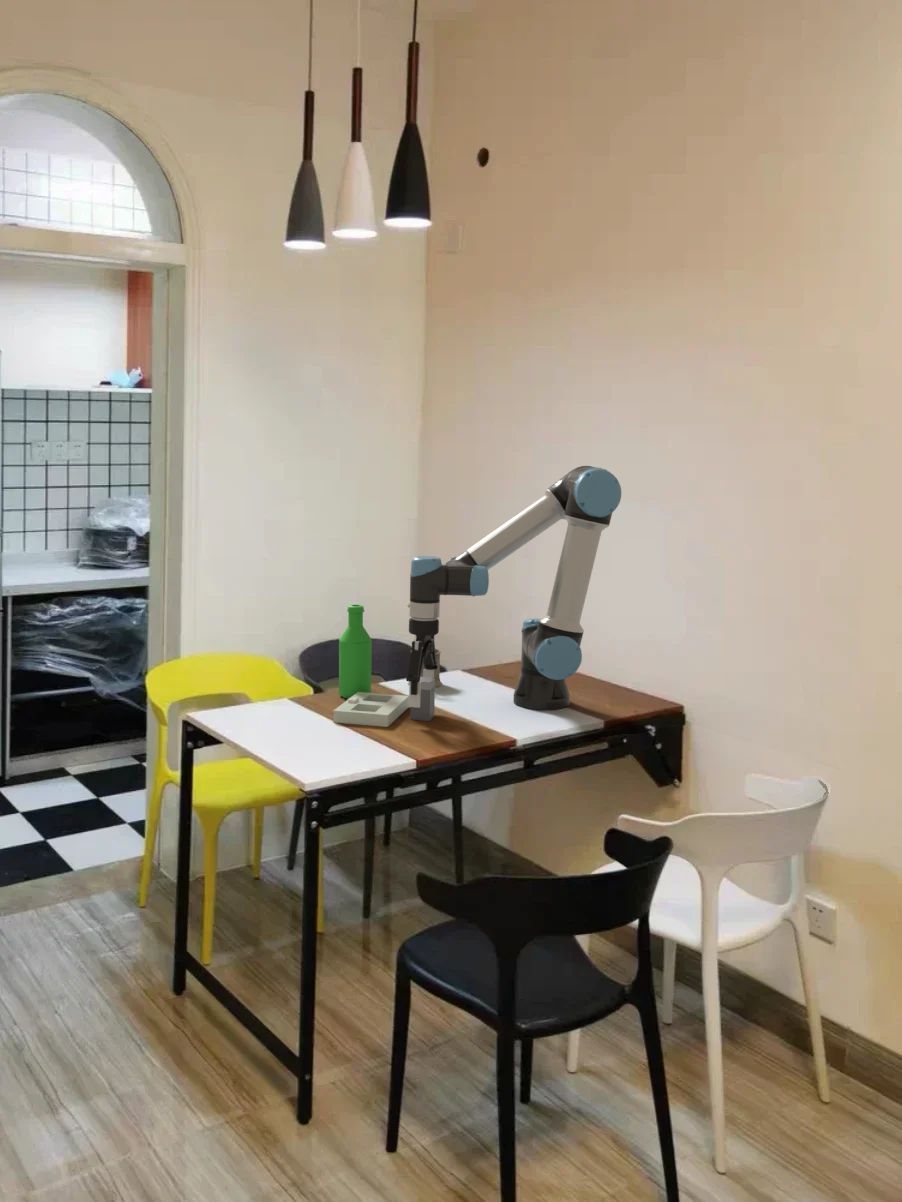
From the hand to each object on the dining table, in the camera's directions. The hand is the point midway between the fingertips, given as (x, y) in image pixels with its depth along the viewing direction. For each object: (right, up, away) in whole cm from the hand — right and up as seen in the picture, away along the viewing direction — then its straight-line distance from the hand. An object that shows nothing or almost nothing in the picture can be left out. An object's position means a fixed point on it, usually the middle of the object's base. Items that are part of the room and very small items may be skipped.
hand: (421, 700), depth 287 cm
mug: (0, +1, +34) cm, 34 cm away
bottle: (-19, -1, +21) cm, 28 cm away
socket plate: (-13, -4, +3) cm, 13 cm away
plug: (0, -4, +1) cm, 5 cm away
